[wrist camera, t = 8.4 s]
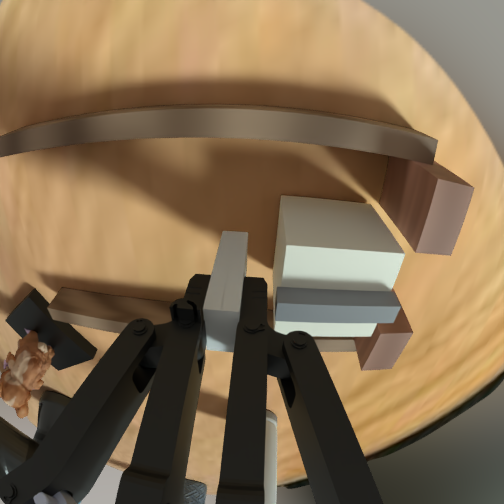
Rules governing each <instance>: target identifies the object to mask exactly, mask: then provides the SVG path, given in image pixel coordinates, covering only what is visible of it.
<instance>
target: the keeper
mask: <svg viewBox="0 0 504 504" xmlns="http://www.w3.org/2000/svg"><path fill="white" fill-rule="evenodd" d="M404 256H405V253H404V251H403V250H402V248H401V247H400V245H399V244H398V242H397V241H396V239H395V238H394V236H393V235H392V233H391V232H390V230H389V229H388V228H387V226H386V225H385V223H384V222H383V220H382V219H381V218H380V216H379V215H378V213H377V212H376V211H375V209H374V208H373V207H372V205H371V204H366V203H358V202H349V201H340V200H330V199H320V198H310V197H298V196H286V195H281V200H280V210H279V220H278V229H277V239H276V248H275V257H274V266H273V313H274V330H275V331H277V332H279V333H282V334H285V335H287V334H288V333H289V332H292V331H304V332H307V333H308V334H310V335H311V336H322V337H367V336H372V334H373V331H374V329H375V327H376V325H377V323H394V320H395V318H396V316H397V314H398V312H399V310H400V308H401V305H400V303H399V301H398V299H397V297H396V294H395V292H393V291H391V290H392V288H393V285H394V283H395V280H396V277H397V275H398V272H399V270H400V267H401V264H402V261H403V259H404Z"/></svg>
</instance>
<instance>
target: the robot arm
mask: <svg viewBox="0 0 504 504" xmlns="http://www.w3.org/2000/svg"><path fill="white" fill-rule="evenodd" d="M247 250H248V232H236V231H223V232H222V236H221V240H220V244H219V247H218V251H217V255H216V259H215V263H214V267H213V271H212V274H211V275H204V274H195V275H194V276H193V277H192V278H191V279H190V281H189V284H188V287H187V290H186V294H185V296H184V298H181V299H178V300H176V301H174V302H173V303H172V304H171V305H170V307H169V308H170V313H171V318H172V321H170V322H168V323H164V324H157V325H154V324H153V323H152V322H151V321H150V320H148V319H145V318H139V319H135V320H133V321H131V322H130V323H129V324H128V325H127V326H126V327H125V328H124V330H123V331H122V332H121V334H120V335H119V336H118V337H117V339H116V340H115V341H114V343H113V344H112V345H111V346H110V348H109V349H108V350H107V352H106V353H105V354H104V356H103V357H102V358H101V359H100V361H99V362H98V363H97V365H96V366H95V367H94V369H93V370H92V371H91V373H90V374H89V375H88V377H87V378H86V379H85V381H84V382H83V384H82V385H81V386H80V388H79V389H78V390H77V392H76V393H75V395H74V396H73V397H72V399H70V398H68V397H65V396H63V395H61V394H58V393H55V392H51V391H45V392H43V394H42V396H41V398H40V401H39V411H38V425H37V431H36V433H35V436H34V438H33V439H31V438H30V437H28V436H27V435H25V434H24V433H22V432H21V431H19V430H18V429H17V428H15V427H14V426H13V425H11V424H10V423H8V422H7V421H6V420H4V419H3V418H2V417H0V498H1V499H2V501H3V502H4V503H5V504H80V502H81V501H82V499H83V498H84V497H85V496H86V495H87V494H88V493H89V491H90V490H91V488H92V487H93V485H94V484H95V482H96V480H97V478H98V477H99V475H100V473H101V472H102V470H103V468H104V466H105V465H106V463H107V461H108V460H109V458H110V456H111V454H112V453H113V451H114V449H115V448H116V446H117V444H118V443H119V441H120V439H121V437H122V436H123V434H124V432H125V431H126V429H127V427H128V426H129V424H130V422H131V421H132V419H133V417H134V416H135V414H136V412H137V411H138V409H139V407H140V406H141V404H142V402H143V401H144V399H145V397H146V396H147V394H148V392H149V391H150V393H149V397H148V400H147V404H146V407H145V411H144V415H143V418H142V422H141V426H140V429H139V433H138V437H137V441H136V445H135V449H134V453H133V457H132V461H131V464H130V466H129V467H128V468H127V469H126V470H125V471H124V472H123V474H122V477H121V480H120V484H119V488H118V493H117V498H116V502H115V504H184V483H185V476H186V470H187V464H188V457H189V451H190V445H191V439H192V433H193V427H194V421H195V415H196V409H197V403H198V398H199V392H200V386H201V381H202V375H203V370H204V364H205V349H206V346H207V350H214V351H225V352H234V354H233V363H232V372H231V380H230V389H229V398H228V407H227V416H226V425H225V434H224V443H223V452H222V461H221V470H220V479H219V485H218V489H217V496H216V504H265V491H264V467H265V437H266V400H267V374H268V375H271V376H274V377H277V380H278V383H279V387H280V390H281V393H282V396H283V400H284V403H285V406H286V410H287V413H288V416H289V419H290V422H291V426H292V429H293V432H294V435H295V439H296V442H297V445H298V448H299V451H300V454H301V458H302V461H303V464H304V467H305V470H306V473H307V477H308V480H309V483H310V486H311V489H312V492H313V495H314V498H315V501H316V504H383V501H382V499H381V497H380V494H379V491H378V489H377V487H376V484H375V481H374V479H373V476H372V474H371V472H370V469H369V467H368V464H367V462H366V459H365V457H364V454H363V452H362V450H361V447H360V445H359V442H358V440H357V438H356V435H355V433H354V430H353V428H352V426H351V423H350V421H349V419H348V416H347V414H346V411H345V409H344V407H343V404H342V402H341V400H340V397H339V395H338V393H337V390H336V388H335V386H334V384H333V381H332V379H331V377H330V374H329V372H328V370H327V367H326V365H325V363H324V361H323V358H322V356H321V354H320V352H319V349H318V347H317V345H316V342H315V340H314V339H313V337H312V336H311V335H310V334H308V333H307V332H304V331H292V332H289V333H288V334H287V335H285V334H282V333H279V332H277V331H275V330H273V329H272V328H271V327H270V326H269V324H268V322H267V283H266V281H265V280H264V278H257V277H246V271H247ZM150 389H151V390H150Z"/></svg>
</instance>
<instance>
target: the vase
mask: <svg viewBox="0 0 504 504" xmlns="http://www.w3.org/2000/svg"><path fill="white" fill-rule="evenodd" d="M206 492H207V486H206V485H205V484H203V483H200V482H197V481H193V480H188V479H185V483H184V504H205V498H206Z"/></svg>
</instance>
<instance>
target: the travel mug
mask: <svg viewBox="0 0 504 504" xmlns="http://www.w3.org/2000/svg"><path fill="white" fill-rule="evenodd" d="M264 491H265V504H276V492H277V416H276V415H275V414H274V413H272V412H270V411H268V410H266V437H265V467H264Z"/></svg>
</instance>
